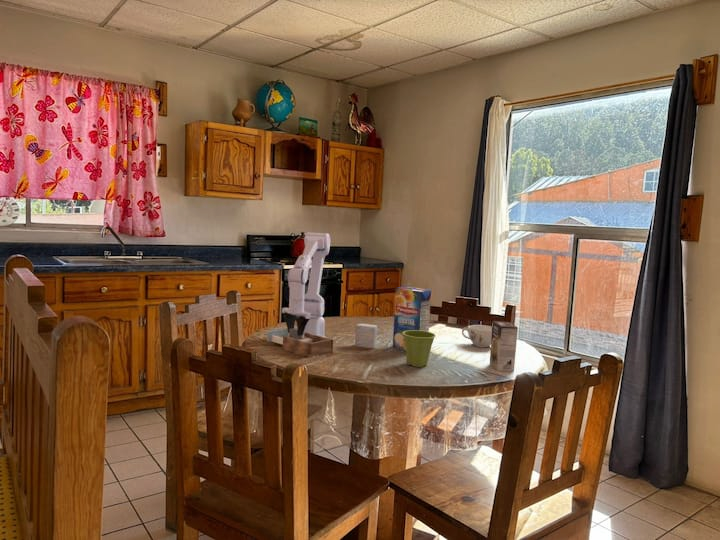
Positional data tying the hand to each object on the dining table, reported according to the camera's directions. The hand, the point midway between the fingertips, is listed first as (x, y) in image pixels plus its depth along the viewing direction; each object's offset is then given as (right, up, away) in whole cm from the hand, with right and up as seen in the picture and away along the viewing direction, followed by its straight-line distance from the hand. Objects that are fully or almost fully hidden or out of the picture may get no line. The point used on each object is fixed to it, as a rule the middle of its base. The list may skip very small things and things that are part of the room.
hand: (295, 334), depth 212 cm
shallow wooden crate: (+4, -6, -3) cm, 8 cm away
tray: (-2, -4, +2) cm, 5 cm away
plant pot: (+45, -9, -16) cm, 49 cm away
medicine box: (+27, -6, +7) cm, 29 cm away
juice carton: (+45, -7, +8) cm, 46 cm away
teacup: (+75, -7, +18) cm, 77 cm away
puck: (0, -2, 0) cm, 2 cm away
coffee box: (+76, -11, -15) cm, 78 cm away
